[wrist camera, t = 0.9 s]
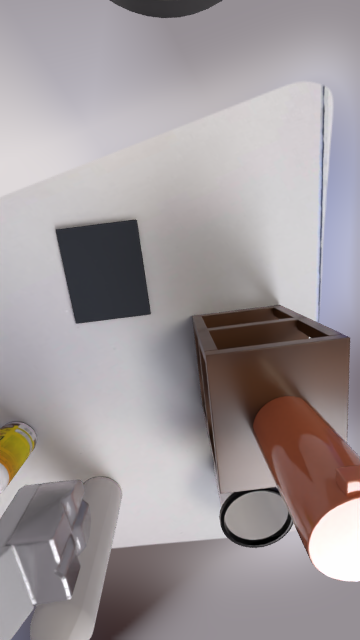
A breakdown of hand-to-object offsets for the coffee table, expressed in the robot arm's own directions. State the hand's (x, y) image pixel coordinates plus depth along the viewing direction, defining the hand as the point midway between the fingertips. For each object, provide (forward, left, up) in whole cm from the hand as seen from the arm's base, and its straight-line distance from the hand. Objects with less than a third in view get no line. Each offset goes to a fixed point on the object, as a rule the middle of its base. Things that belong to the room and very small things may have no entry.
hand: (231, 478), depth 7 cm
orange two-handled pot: (+10, +7, -15) cm, 19 cm away
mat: (-5, -10, -30) cm, 32 cm away
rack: (+9, +7, -30) cm, 32 cm away
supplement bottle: (+17, -27, -30) cm, 44 cm away
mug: (+28, +5, -30) cm, 41 cm away
